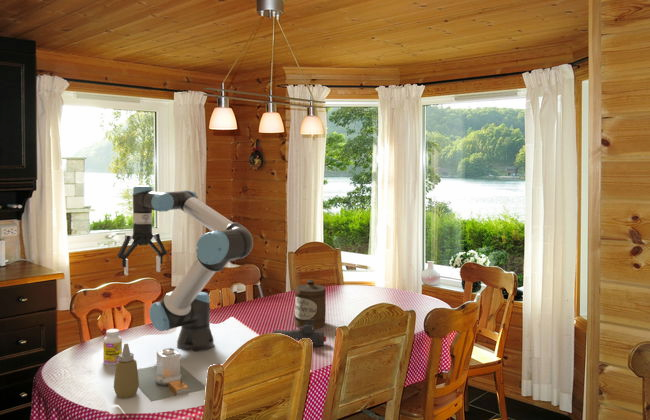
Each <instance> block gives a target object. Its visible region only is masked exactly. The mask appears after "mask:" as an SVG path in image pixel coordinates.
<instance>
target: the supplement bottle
mask: <svg viewBox="0 0 650 420" xmlns="http://www.w3.org/2000/svg"><path fill="white" fill-rule="evenodd" d="M105 334H106V336H105V337H104V338H103V364H104V365H108V366H109V365H116V362H117V361H119V355H120V354H122V352H123V343H122V342H123V341H122V339H123V337H121V335H120V330H119V329H118V328H110V329H106V332H105Z"/></svg>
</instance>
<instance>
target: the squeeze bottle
mask: <svg viewBox="0 0 650 420" xmlns="http://www.w3.org/2000/svg"><path fill="white" fill-rule="evenodd" d="M134 356H135V355H134V353H133V352H131V351H130V346H129V344H128V343H124V344H123V347H122V354H120V355H119V361H117V362H116V364H115V371H114V379H113V390H114V392H115V395H116V397H117V398H119V399H123V400H125V399H131V398H133V397H134V398H135V396H137V392H138V389H139V388H138V386H139V379H138V371H137V369H138V364H137V360H135V359H134Z"/></svg>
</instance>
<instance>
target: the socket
mask: <svg viewBox="0 0 650 420" xmlns="http://www.w3.org/2000/svg"><path fill="white" fill-rule="evenodd" d="M180 365H181V353H180V352H178V351H177V350H176V349H175V348H172V347H169V348H168V347H167V348H164V349H162V350H160V351H159V350H158V351H156V366H157V374H158V375H159V376H160V377H161V378H162V379H167V378H172V377H177V376H180Z"/></svg>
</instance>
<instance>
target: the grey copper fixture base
mask: <svg viewBox="0 0 650 420" xmlns="http://www.w3.org/2000/svg"><path fill="white" fill-rule="evenodd" d="M155 384H156V385H158V386H163V387H168V388H169V389H170V390H171V391H172V392H173V393H174V394H175V395H176V396H175V397H177V396H182V394H183V395H186V394H189V393H188V386H187V385H185V384H184V383H183V382H182V381H181V372H180V376H177V377H172V378H167V379H162V378H161V377H160V376H159V375H158V374H156V375H155Z"/></svg>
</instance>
